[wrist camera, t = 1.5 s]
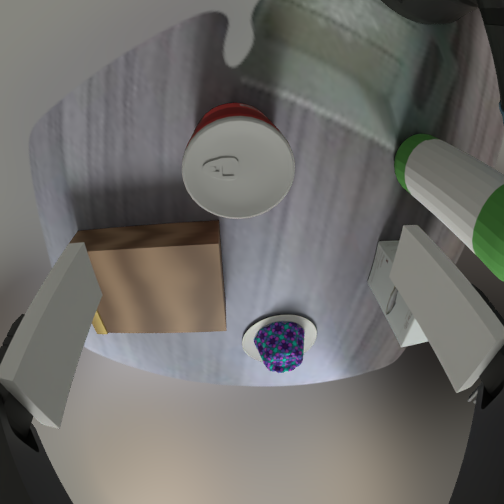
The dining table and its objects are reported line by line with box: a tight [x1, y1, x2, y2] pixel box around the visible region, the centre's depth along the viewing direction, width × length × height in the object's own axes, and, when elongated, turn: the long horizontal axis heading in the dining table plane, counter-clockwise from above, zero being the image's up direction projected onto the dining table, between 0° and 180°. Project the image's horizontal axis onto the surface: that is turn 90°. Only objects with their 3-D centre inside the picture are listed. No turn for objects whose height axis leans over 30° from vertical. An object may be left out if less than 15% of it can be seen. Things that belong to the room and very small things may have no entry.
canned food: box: [182, 103, 295, 219], centre depth 25 cm, size 8×8×11 cm
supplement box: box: [368, 240, 428, 347], centre depth 35 cm, size 7×7×13 cm
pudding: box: [242, 315, 317, 373], centre depth 45 cm, size 12×12×5 cm
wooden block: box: [70, 220, 226, 334], centre depth 35 cm, size 18×13×5 cm
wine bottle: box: [394, 134, 504, 282], centre depth 20 cm, size 8×8×30 cm
